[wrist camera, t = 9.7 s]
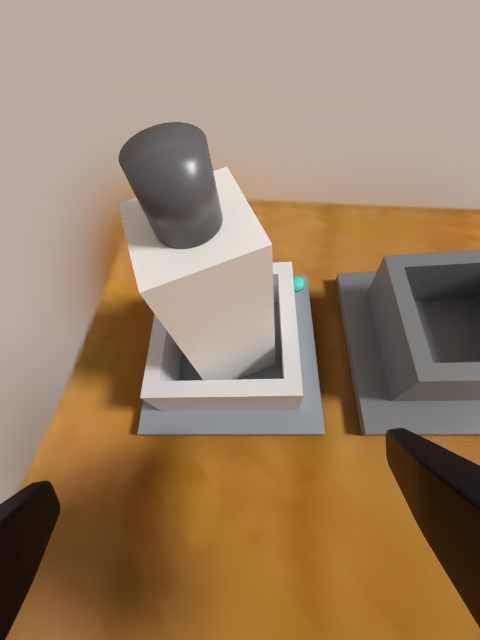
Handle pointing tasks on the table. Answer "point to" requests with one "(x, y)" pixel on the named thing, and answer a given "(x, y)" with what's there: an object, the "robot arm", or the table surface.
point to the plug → (198, 252)
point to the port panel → (240, 380)
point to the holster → (415, 343)
